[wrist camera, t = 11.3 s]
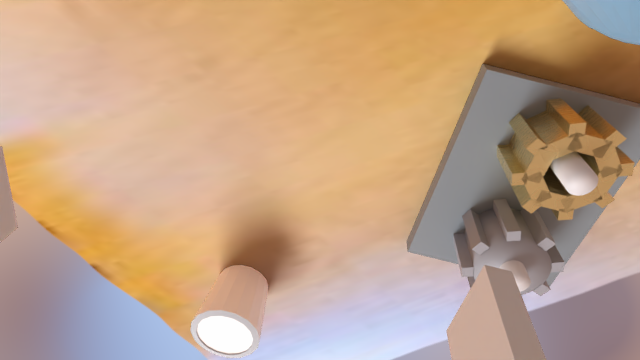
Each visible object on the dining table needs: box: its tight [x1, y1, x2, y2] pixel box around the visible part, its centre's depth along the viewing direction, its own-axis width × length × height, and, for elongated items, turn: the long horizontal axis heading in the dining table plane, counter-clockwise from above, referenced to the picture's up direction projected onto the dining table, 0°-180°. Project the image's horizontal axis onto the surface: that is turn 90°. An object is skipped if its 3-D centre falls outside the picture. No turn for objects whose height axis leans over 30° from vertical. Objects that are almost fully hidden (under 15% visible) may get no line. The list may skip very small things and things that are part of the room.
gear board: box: [407, 64, 640, 296], centre depth 34 cm, size 18×14×8 cm
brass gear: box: [497, 98, 635, 220], centre depth 32 cm, size 8×8×4 cm
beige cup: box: [191, 265, 268, 358], centre depth 45 cm, size 7×7×7 cm
